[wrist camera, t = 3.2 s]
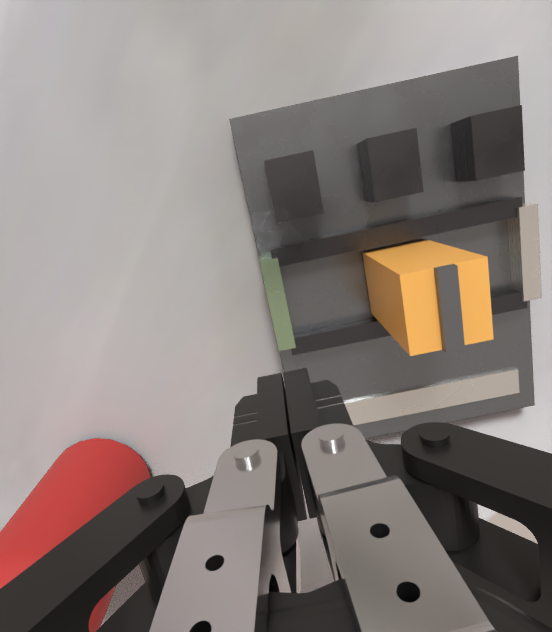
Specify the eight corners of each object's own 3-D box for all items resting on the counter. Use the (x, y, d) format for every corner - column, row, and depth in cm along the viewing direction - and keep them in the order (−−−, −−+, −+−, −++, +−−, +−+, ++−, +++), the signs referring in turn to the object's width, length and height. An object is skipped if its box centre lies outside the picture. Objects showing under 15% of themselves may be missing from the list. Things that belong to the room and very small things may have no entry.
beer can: (125, 531, 31) (43, 730, 20) (39, 489, 30) (-100, 673, 18) (172, 463, 30) (113, 634, 18) (84, 416, 29) (-38, 566, 17)
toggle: (425, 239, 24) (492, 257, 17) (432, 300, 25) (498, 342, 18) (362, 252, 25) (402, 276, 17) (371, 313, 25) (413, 359, 18)
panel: (502, 64, 24) (547, 39, 20) (521, 394, 29) (559, 424, 25) (231, 123, 24) (225, 110, 20) (299, 438, 30) (304, 474, 26)
